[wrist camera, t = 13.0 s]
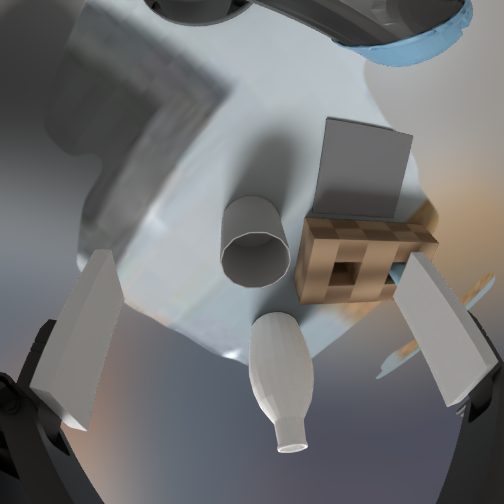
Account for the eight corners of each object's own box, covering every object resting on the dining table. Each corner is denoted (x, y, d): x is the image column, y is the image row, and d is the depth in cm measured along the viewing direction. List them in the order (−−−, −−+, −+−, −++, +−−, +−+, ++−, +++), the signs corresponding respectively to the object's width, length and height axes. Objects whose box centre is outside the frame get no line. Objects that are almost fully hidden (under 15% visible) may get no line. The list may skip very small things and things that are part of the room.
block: (304, 217, 43) (314, 238, 38) (421, 224, 45) (439, 243, 40) (293, 279, 50) (300, 304, 45) (400, 278, 52) (413, 298, 47)
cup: (267, 186, 40) (277, 221, 32) (286, 233, 45) (299, 274, 37) (212, 209, 42) (207, 248, 33) (236, 252, 46) (237, 296, 38)
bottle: (245, 344, 59) (253, 460, 39) (246, 307, 53) (256, 441, 32) (297, 342, 60) (320, 453, 39) (305, 305, 54) (338, 431, 33)
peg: (380, 244, 47) (411, 290, 37) (394, 245, 47) (426, 290, 38) (375, 258, 49) (404, 306, 39) (389, 259, 49) (419, 304, 39)
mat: (326, 118, 35) (327, 119, 35) (412, 135, 36) (413, 135, 36) (312, 211, 43) (312, 212, 43) (391, 216, 44) (392, 217, 44)
